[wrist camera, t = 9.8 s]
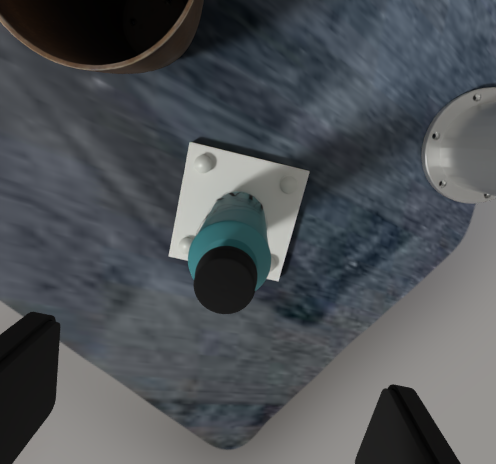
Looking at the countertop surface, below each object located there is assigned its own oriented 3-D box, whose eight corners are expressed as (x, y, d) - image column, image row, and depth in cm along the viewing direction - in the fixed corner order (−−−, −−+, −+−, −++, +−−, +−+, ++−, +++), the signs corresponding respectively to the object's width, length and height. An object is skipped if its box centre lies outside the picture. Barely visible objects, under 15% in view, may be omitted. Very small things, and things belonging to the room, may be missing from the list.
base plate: (308, 170, 39) (310, 172, 37) (277, 277, 43) (278, 283, 41) (191, 142, 38) (188, 142, 37) (170, 253, 42) (167, 258, 40)
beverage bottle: (272, 196, 39) (293, 253, 19) (255, 248, 40) (259, 346, 21) (219, 180, 38) (186, 220, 19) (204, 232, 40) (159, 319, 21)
